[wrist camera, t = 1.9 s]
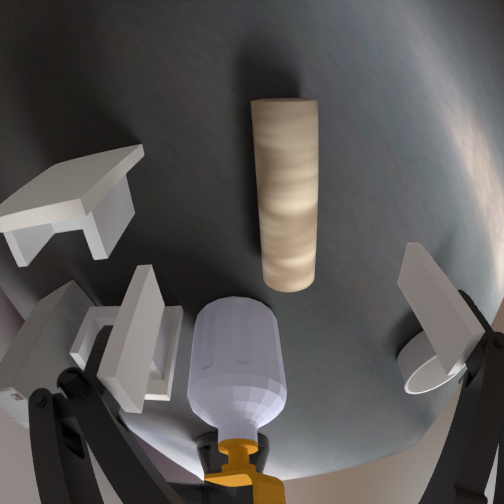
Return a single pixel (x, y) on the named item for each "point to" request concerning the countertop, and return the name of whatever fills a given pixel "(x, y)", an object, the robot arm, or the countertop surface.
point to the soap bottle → (238, 386)
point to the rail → (287, 189)
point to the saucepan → (421, 366)
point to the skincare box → (42, 349)
